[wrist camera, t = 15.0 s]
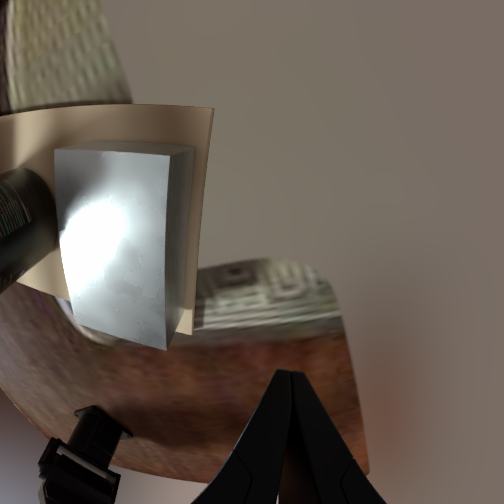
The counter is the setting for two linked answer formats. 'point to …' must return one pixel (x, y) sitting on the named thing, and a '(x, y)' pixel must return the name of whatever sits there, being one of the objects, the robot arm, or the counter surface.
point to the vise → (114, 129)
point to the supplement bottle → (24, 223)
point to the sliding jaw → (125, 235)
